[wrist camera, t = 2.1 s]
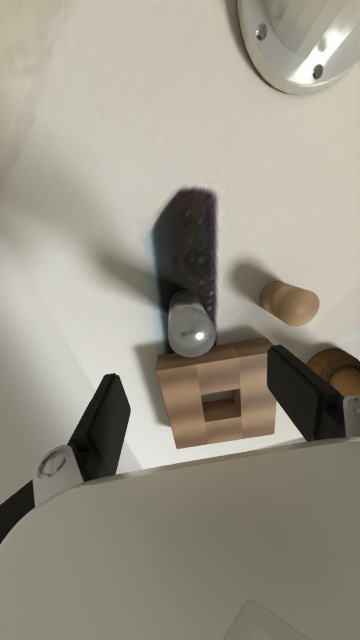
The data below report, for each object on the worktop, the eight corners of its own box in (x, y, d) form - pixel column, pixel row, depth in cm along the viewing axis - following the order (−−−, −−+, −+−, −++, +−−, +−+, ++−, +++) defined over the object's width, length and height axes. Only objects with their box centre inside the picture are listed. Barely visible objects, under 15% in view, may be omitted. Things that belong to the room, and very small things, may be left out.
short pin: (259, 284, 22) (282, 293, 18) (291, 279, 22) (322, 287, 18) (259, 313, 24) (280, 328, 19) (288, 308, 24) (316, 323, 19)
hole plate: (157, 355, 26) (156, 371, 22) (266, 337, 25) (279, 350, 22) (176, 428, 32) (176, 449, 29) (263, 414, 32) (274, 433, 28)
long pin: (166, 292, 22) (163, 319, 14) (197, 287, 22) (213, 311, 14) (172, 321, 24) (172, 360, 15) (201, 316, 24) (217, 353, 15)
